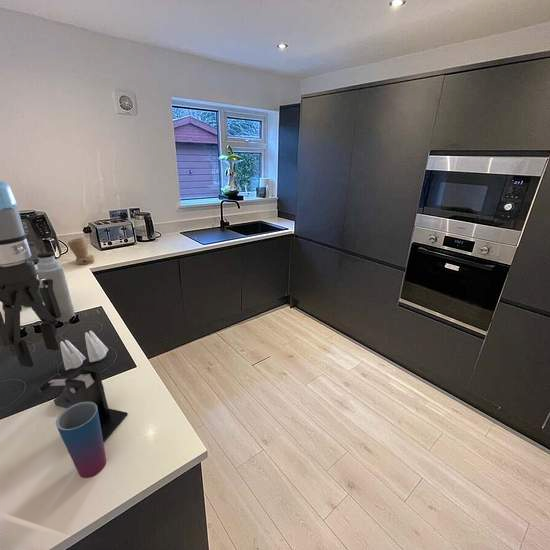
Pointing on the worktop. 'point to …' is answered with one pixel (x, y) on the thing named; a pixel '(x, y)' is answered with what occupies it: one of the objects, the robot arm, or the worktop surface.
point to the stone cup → (81, 251)
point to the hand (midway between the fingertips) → (40, 356)
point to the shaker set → (75, 358)
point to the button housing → (63, 399)
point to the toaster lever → (57, 381)
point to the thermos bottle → (56, 283)
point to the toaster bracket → (95, 400)
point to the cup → (83, 437)
